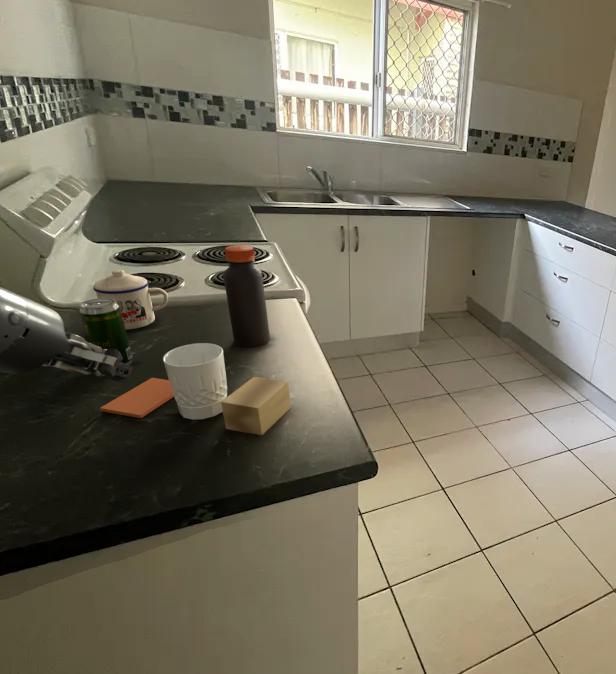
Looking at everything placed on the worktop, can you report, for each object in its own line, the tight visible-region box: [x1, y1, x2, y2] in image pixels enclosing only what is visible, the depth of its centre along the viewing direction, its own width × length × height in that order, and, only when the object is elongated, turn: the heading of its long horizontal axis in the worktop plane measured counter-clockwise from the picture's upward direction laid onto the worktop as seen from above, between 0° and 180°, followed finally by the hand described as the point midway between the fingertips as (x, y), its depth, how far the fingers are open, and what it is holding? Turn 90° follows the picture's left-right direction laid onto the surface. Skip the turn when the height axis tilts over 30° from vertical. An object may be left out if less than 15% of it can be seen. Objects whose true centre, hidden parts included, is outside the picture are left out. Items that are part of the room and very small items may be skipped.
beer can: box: [79, 298, 134, 366], centre depth 84 cm, size 5×5×12 cm
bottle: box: [222, 244, 271, 348], centre depth 96 cm, size 7×7×20 cm
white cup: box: [162, 342, 228, 421], centre depth 75 cm, size 8×8×10 cm
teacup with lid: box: [92, 269, 169, 331], centre depth 101 cm, size 12×9×12 cm
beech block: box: [221, 376, 292, 436], centre depth 75 cm, size 6×8×5 cm
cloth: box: [99, 377, 175, 419], centre depth 78 cm, size 7×10×1 cm
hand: (125, 374), depth 62 cm, fingers closed
